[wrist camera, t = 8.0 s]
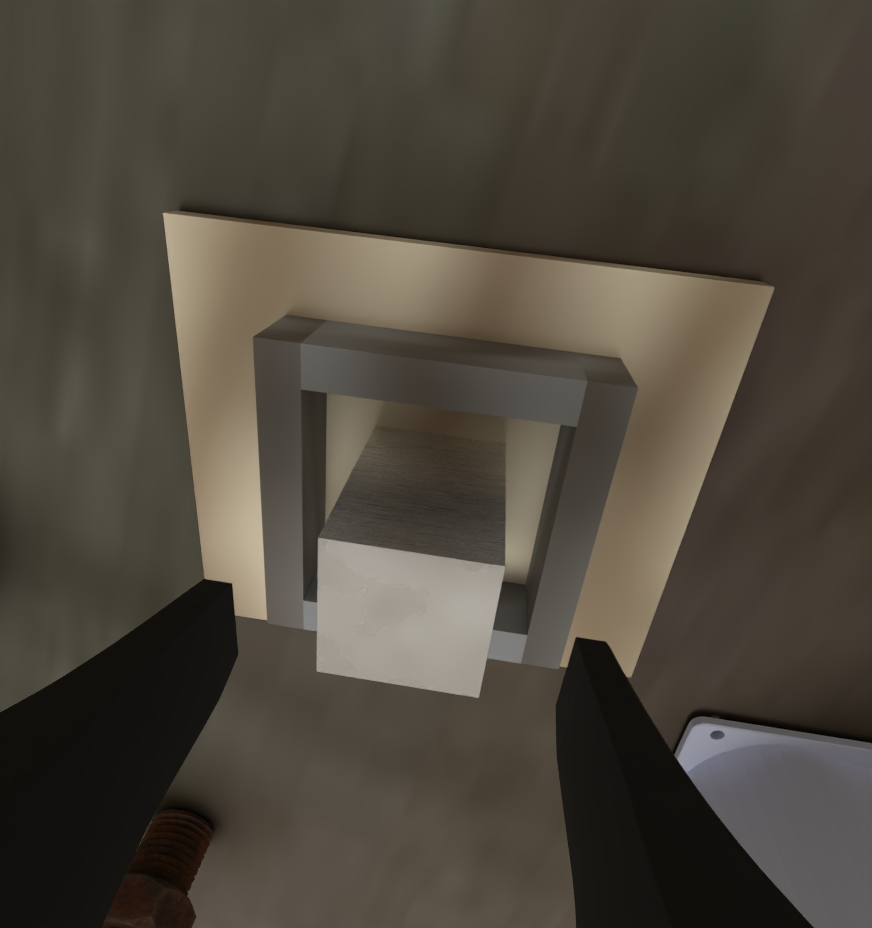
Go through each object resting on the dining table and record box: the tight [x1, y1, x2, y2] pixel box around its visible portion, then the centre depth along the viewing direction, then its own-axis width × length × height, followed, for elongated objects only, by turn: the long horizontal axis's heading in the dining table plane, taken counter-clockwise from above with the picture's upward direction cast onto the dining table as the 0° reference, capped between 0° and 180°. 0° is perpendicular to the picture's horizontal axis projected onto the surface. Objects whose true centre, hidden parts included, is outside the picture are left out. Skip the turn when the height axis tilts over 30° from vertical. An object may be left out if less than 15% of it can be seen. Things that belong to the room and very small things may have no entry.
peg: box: [317, 425, 506, 698], centre depth 16 cm, size 4×4×6 cm
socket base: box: [163, 211, 775, 677], centre depth 17 cm, size 16×14×3 cm
